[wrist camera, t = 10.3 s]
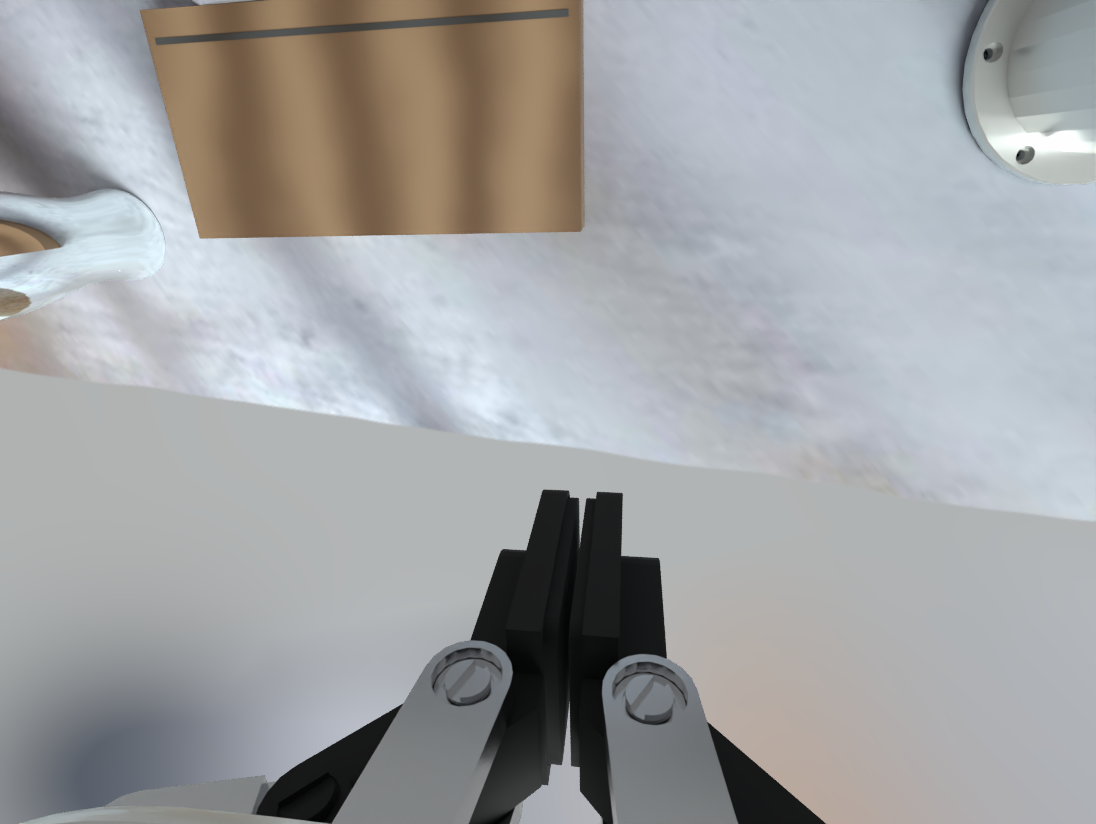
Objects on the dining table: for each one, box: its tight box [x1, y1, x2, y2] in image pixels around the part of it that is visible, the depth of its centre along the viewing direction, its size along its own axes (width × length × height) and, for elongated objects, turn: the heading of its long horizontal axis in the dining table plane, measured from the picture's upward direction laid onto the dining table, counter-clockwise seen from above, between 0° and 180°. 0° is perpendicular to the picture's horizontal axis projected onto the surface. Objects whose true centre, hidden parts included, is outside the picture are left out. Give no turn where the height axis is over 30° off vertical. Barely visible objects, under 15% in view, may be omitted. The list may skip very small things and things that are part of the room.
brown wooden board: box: [140, 0, 584, 238], centre depth 33 cm, size 24×12×3 cm, turn 92°
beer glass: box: [0, 188, 165, 321], centre depth 33 cm, size 7×7×15 cm
